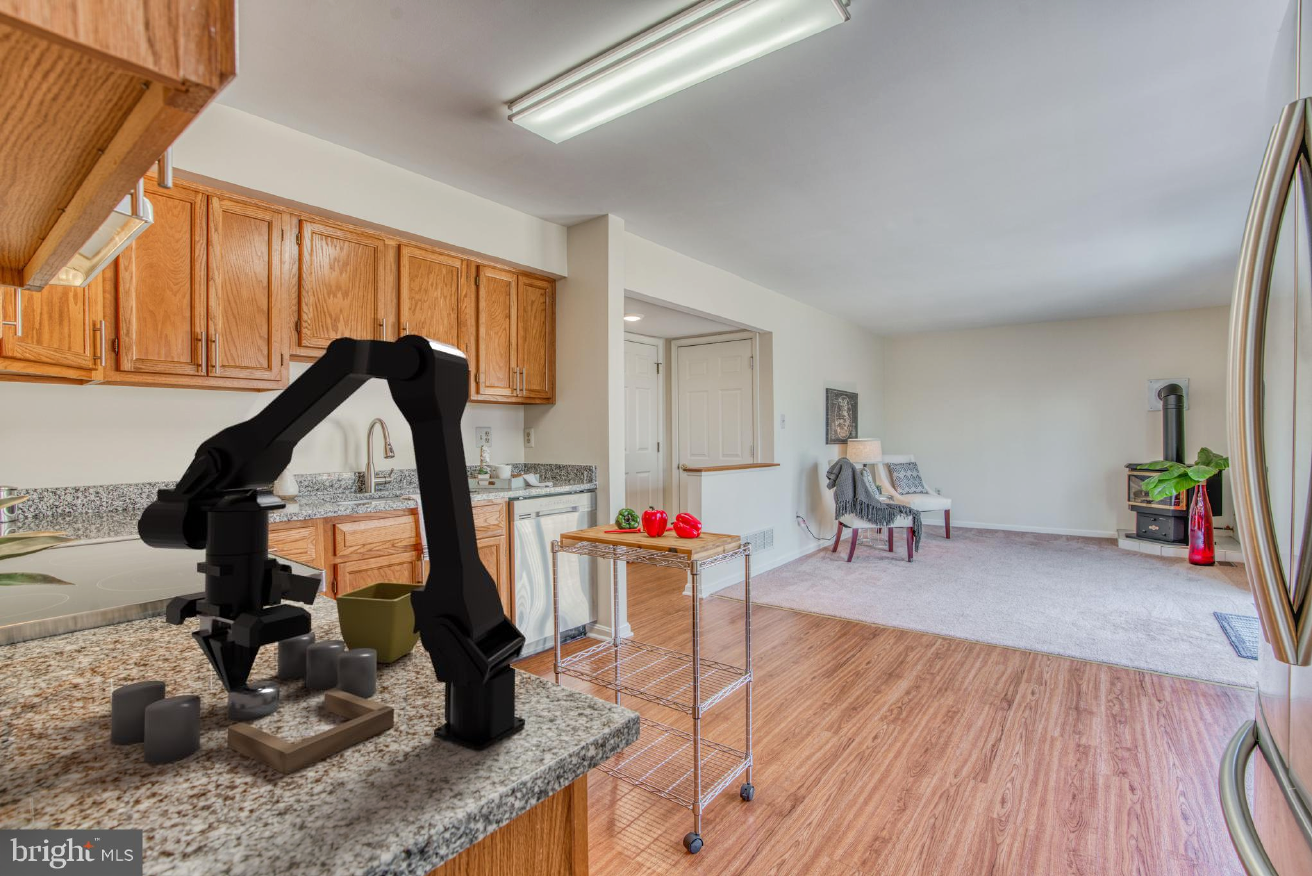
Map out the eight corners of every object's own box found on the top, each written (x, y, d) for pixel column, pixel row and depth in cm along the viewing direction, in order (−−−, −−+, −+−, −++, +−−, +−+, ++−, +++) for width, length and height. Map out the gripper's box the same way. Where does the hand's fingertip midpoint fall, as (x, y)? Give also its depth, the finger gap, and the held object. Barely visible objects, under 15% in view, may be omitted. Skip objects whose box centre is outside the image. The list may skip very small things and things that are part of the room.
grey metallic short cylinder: (288, 709, 66) (288, 685, 66) (242, 726, 62) (243, 700, 62) (263, 700, 68) (264, 677, 68) (218, 716, 64) (218, 691, 64)
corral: (393, 726, 61) (393, 708, 61) (286, 774, 52) (287, 753, 52) (334, 705, 66) (335, 688, 66) (227, 746, 57) (227, 726, 57)
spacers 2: (383, 691, 70) (384, 651, 70) (351, 703, 67) (352, 662, 67) (303, 665, 78) (303, 630, 78) (270, 675, 75) (271, 638, 75)
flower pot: (393, 671, 77) (394, 599, 77) (332, 665, 78) (334, 595, 78) (432, 648, 85) (433, 584, 85) (377, 644, 87) (378, 581, 87)
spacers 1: (208, 749, 56) (209, 700, 57) (156, 768, 53) (157, 716, 53) (153, 721, 62) (154, 677, 62) (103, 738, 58) (104, 691, 59)
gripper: (357, 548, 69) (356, 685, 69) (267, 536, 79) (266, 657, 78) (253, 563, 60) (251, 724, 59) (164, 548, 69) (162, 687, 69)
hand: (235, 694), depth 67 cm, fingers closed
